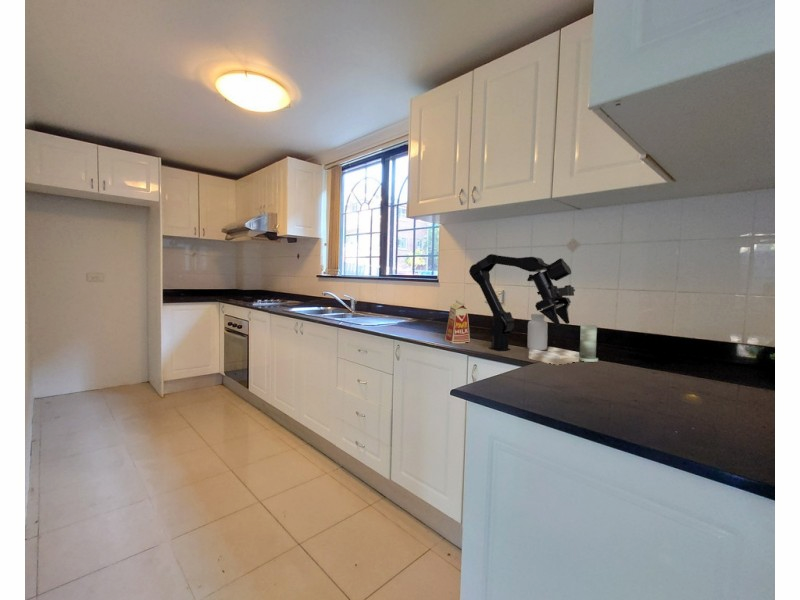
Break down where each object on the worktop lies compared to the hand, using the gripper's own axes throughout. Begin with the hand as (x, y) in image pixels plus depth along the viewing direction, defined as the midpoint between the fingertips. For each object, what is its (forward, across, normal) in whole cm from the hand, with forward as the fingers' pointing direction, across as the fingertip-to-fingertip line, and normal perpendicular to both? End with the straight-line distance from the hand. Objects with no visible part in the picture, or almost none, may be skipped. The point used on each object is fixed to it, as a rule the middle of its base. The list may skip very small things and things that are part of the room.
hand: (563, 324), depth 126 cm
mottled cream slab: (+11, -4, +8) cm, 14 cm away
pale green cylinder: (+15, +5, 0) cm, 16 cm away
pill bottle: (+5, +14, +20) cm, 25 cm away
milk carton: (-10, +1, +49) cm, 50 cm away
